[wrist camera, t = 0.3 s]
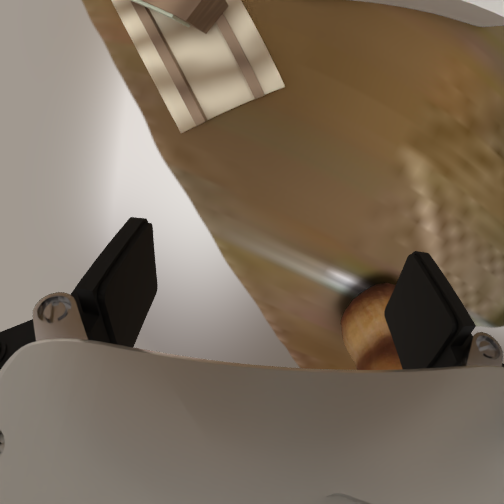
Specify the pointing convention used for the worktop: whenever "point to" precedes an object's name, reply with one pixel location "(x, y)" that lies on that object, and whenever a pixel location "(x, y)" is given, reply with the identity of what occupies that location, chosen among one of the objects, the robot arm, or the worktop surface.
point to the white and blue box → (457, 9)
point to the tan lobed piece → (370, 330)
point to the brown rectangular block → (189, 11)
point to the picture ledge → (201, 61)
